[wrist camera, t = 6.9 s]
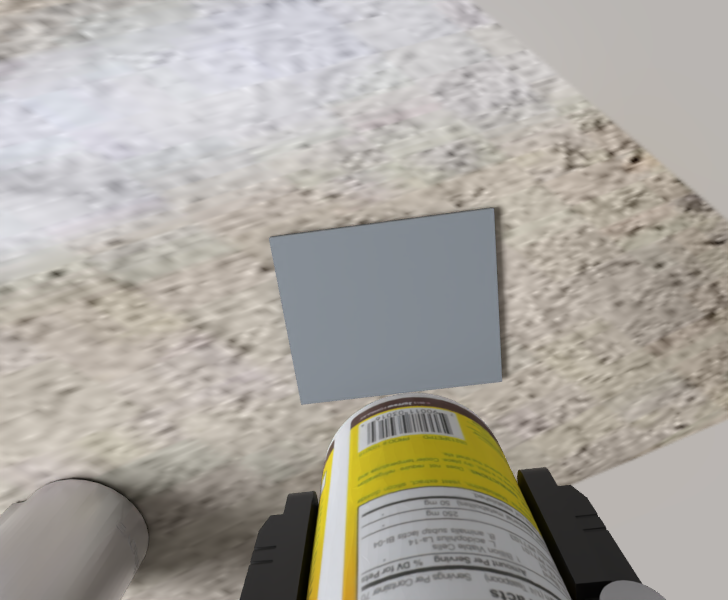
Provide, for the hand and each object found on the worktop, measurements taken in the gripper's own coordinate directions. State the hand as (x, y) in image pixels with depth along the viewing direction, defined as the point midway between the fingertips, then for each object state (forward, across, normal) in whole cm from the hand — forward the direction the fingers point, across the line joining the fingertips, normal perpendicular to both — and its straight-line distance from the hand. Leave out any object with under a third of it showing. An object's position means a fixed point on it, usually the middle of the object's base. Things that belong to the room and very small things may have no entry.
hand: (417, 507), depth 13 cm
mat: (+17, 0, 0) cm, 17 cm away
